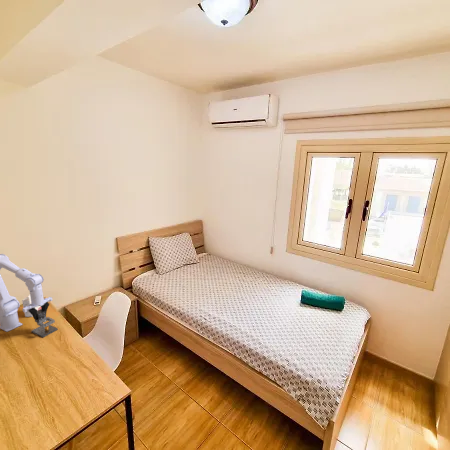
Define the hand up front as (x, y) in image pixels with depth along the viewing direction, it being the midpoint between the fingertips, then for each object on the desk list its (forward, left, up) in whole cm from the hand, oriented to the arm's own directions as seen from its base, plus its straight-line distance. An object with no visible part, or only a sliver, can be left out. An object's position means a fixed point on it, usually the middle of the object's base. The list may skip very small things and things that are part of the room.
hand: (40, 317), depth 143 cm
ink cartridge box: (-24, +8, -8) cm, 26 cm away
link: (+3, 0, -2) cm, 4 cm away
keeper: (+2, 0, -8) cm, 9 cm away
